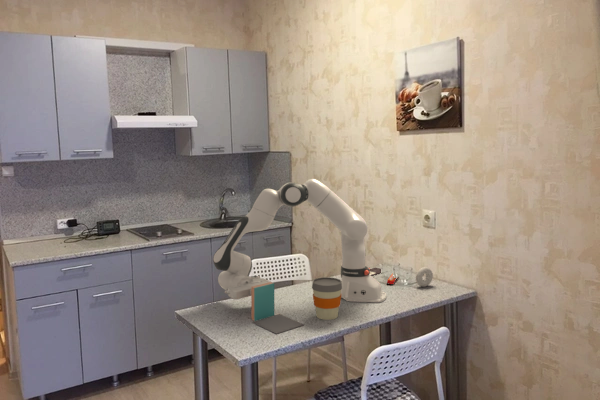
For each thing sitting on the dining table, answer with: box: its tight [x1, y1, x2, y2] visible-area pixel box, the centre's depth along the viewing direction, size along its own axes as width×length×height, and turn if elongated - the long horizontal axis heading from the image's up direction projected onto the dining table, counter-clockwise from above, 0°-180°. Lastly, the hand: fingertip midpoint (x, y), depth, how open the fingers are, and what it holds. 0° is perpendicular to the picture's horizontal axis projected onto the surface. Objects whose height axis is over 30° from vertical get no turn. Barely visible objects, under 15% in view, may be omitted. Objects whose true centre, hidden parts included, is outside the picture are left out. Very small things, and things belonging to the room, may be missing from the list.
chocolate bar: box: [369, 267, 382, 277], centre depth 277 cm, size 9×1×18 cm
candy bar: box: [386, 272, 396, 285], centre depth 261 cm, size 16×4×3 cm, turn 159°
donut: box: [415, 266, 434, 288], centre depth 250 cm, size 10×4×10 cm, turn 117°
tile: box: [250, 281, 275, 322], centre depth 209 cm, size 2×10×14 cm, turn 130°
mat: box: [252, 313, 305, 335], centre depth 202 cm, size 16×14×1 cm
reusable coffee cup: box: [311, 276, 342, 321], centre depth 210 cm, size 13×13×15 cm
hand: (261, 293), depth 210 cm, fingers closed
